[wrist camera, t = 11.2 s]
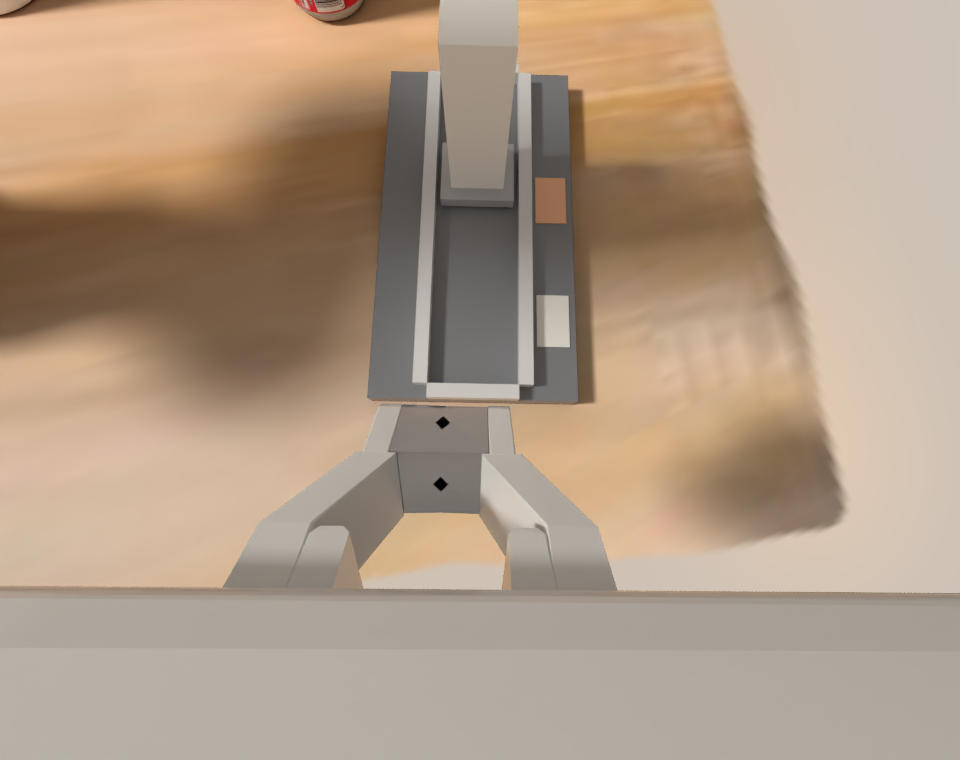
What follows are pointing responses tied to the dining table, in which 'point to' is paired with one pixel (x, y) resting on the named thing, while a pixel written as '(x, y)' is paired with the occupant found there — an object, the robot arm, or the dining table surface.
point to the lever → (477, 100)
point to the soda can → (329, 8)
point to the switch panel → (475, 260)
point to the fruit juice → (11, 5)
